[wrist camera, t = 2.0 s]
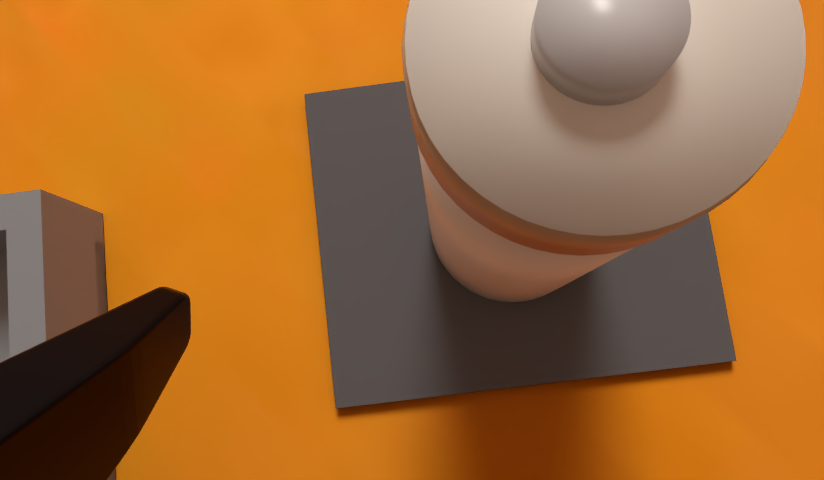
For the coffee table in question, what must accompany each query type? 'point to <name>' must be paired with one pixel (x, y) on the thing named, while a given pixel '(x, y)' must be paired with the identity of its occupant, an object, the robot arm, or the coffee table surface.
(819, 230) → the coffee table surface
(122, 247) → the coffee table surface
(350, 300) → the mat
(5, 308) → the bin
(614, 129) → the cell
